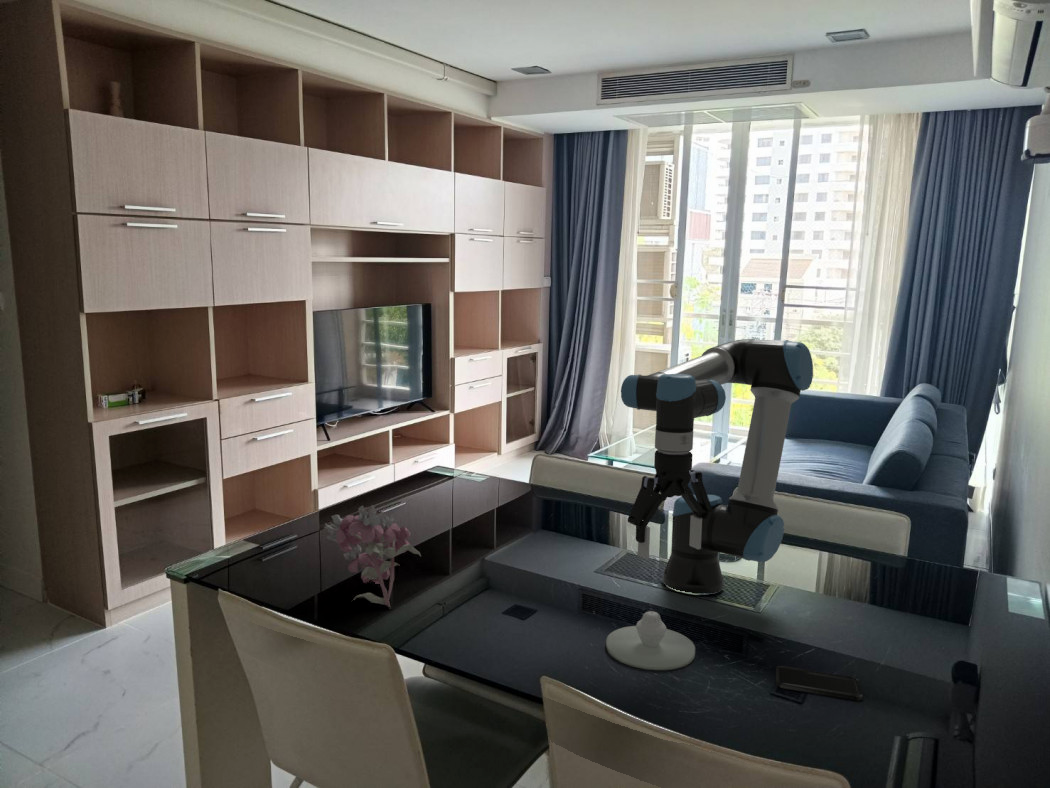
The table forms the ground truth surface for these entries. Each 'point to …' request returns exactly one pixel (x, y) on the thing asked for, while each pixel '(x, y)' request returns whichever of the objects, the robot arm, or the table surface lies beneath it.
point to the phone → (818, 683)
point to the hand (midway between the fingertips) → (669, 552)
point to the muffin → (651, 629)
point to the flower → (371, 546)
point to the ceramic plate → (650, 650)
